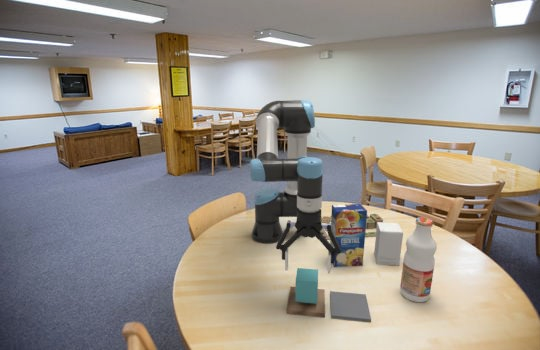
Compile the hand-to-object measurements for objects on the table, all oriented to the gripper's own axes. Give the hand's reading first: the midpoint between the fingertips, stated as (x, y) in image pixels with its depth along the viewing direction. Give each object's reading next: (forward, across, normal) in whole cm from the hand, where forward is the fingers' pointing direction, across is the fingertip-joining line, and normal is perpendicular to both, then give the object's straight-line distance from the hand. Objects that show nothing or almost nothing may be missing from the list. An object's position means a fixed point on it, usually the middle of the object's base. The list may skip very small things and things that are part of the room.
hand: (307, 269), depth 99 cm
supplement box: (+13, +32, +32) cm, 47 cm away
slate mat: (+13, +14, 0) cm, 19 cm away
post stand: (+13, 0, 0) cm, 13 cm away
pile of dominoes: (+13, +18, +64) cm, 67 cm away
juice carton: (+13, +15, +28) cm, 35 cm away
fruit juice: (+13, +37, +10) cm, 41 cm away
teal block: (+10, 0, 0) cm, 10 cm away
